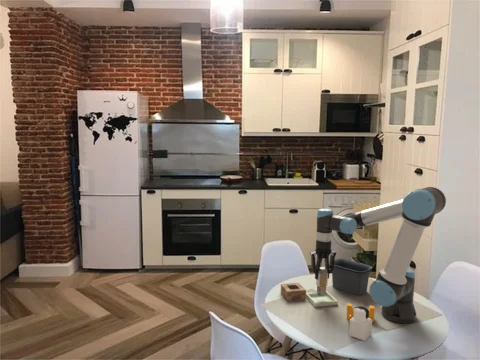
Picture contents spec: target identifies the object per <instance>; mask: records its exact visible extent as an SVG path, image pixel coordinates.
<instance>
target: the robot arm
mask: <svg viewBox="0 0 480 360" xmlns="http://www.w3.org/2000/svg"><path fill="white" fill-rule="evenodd" d="M446 204H447V199H446V196H445V193H444V192H443V191H442V190H441V189H439V188H437V187H432V186H427V187H422V188H417V189H413V190H412V191H410V192H408V193H407V194H406V195H404V197H403V199H399V200H396V201H393V202H388V203H385V204H381V205H377V206H374V207H371V208H367V209H363V210H362V211H361V210H360V211H357V212H354V213H350V214H346V215H336V214H334V212H333V211H334V210H332V209H331V208H319V209H318V210H317V215H316V234H315V236H316V237H315V239H316V240H315V249H314V251H313V252H311V251H310V253H309V255H310V262H311V263H310V264H311V265H310V266H311V269H310V270H311V272H312V273H314V279H315V284H316V287H317V286H320V273H319V270H320V267H321V265H322V261H324V267H325V268H327V282H326V287H327V286H328V281H329V279H330V274H332V271H333V269H334V260H336V255H337V252H336V251H334V250H332V239H333V231H335V232H339V233H343V234H347V235H352V234H354V233H355V232H356V231H357V229H359V228H364V227H367V226H370V225H371V226H372V225H375V224H378V223H382V222H388V221H390V220H392V221H393V220H395V219H400V218H402V222H401V226H400V228H399V231H398V233H397V236H396V238H395V240H394V244H393V245H392V248H391V251H390V253H389V257H388V259H387V261H386V264H385V267H383V268H380V269H379V271H378V274H377V276H376V279H375V280H373V281H372V283H371V284H369V285H370V286H369V289H368V290H369V294H370V296H371V300H373V302H375V303H376V304H377V305H379V306H380V307H381V312H380V313H381V316H382V317H384V318H385V319H387V320H389V321H391V322H394V323H398V324H411V323H415V322H416V320H417V312H416V308H415V305H414V295H415V283H416V274H415V272H414V270H412V269H410V268H409V267H410V265H411V262H412V260H413V258H414V255H415V253H416V251H417V248H418V245H419V243H420V242H421V238H422V236H423V233H424V231H425V229H426V228H429V227H431V225H432V223H433V220H434V217H435V215H436V214H438V213H441V212H442V211H443V210H444V208H445V207H446ZM329 256H330V257H329ZM323 259H324V260H323ZM329 262H330V263H329Z"/></svg>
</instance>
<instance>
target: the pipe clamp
mask: <svg viewBox="0 0 480 360" xmlns="http://www.w3.org/2000/svg"><path fill="white" fill-rule="evenodd" d="M367 309H368V310H369V318H371V319H372V323H374V322H375V311H376V308H375V305H369V308H367ZM352 317H354V308H353V305H352V303H348V302H347V303H346V319H347V320H350V319H351V318H352Z"/></svg>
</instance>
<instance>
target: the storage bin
mask: <svg viewBox="0 0 480 360" xmlns="http://www.w3.org/2000/svg"><path fill="white" fill-rule="evenodd" d="M329 264H330V261H329ZM372 269H373V266H371V265H368V264H367V263H365V264H364V263H361V262H357V261H355V260H350V259H345V258H341V257H339V258H335V260H334V269H333V271H331V277H332V278H331V279H332V281H331V283H332V288H336V289H338V290H339V291H340V290H341V291H343V292H347V293H350V294H353V295H354V296H361V295H363V294H365V293H367V292H368V286H369V279H370V278H369V277H370V273H371V272H372Z"/></svg>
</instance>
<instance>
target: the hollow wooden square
mask: <svg viewBox="0 0 480 360" xmlns="http://www.w3.org/2000/svg"><path fill="white" fill-rule="evenodd" d="M306 293H307V289H306V288H304V286H302V285H301V283H300V282H292V283H290V282H289V283H281V284H280V294H281V295H282V297H284V299H285V300H286V301H289V302H291V301H302V300H306V299H307V298H306Z"/></svg>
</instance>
